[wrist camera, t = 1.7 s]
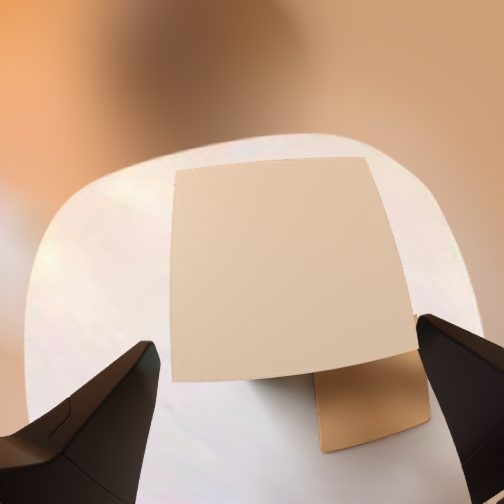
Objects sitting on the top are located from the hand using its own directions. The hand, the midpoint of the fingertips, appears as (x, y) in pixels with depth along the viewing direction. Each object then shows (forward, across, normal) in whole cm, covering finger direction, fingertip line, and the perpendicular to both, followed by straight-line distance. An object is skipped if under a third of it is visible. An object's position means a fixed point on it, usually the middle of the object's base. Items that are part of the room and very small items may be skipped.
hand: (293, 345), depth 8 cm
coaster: (+4, -6, +9) cm, 12 cm away
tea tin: (+8, 0, +6) cm, 9 cm away
